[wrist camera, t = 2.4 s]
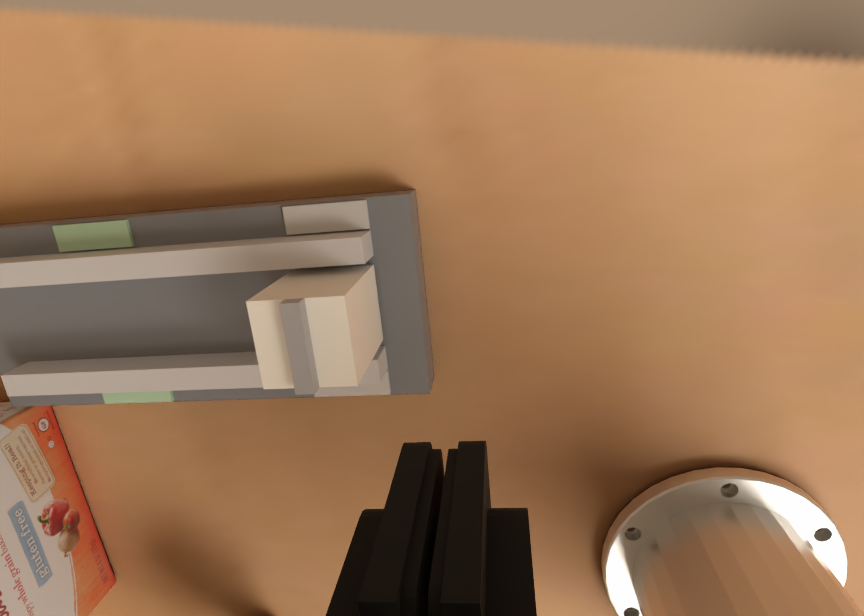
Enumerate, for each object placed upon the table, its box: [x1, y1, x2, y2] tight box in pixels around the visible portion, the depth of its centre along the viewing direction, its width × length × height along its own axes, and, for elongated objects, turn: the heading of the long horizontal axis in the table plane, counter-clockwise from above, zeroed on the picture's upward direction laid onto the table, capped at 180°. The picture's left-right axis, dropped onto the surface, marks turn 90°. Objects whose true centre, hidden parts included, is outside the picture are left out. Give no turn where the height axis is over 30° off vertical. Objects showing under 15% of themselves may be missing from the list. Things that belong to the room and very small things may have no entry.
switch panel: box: [0, 190, 434, 407], centre depth 28 cm, size 10×24×4 cm, turn 96°
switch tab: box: [246, 264, 383, 395], centre depth 24 cm, size 4×4×6 cm
